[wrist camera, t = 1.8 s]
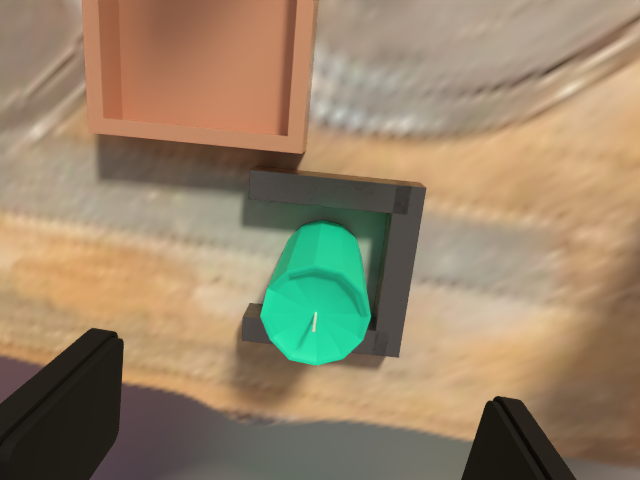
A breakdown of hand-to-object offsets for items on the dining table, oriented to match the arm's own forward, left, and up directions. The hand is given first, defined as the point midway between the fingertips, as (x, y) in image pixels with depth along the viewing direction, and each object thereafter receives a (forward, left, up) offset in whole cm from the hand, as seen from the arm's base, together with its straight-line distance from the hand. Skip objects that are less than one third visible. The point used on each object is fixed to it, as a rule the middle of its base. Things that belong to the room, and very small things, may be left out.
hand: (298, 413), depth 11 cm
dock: (0, +3, -22) cm, 22 cm away
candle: (0, +3, -22) cm, 23 cm away
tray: (+9, -12, -22) cm, 27 cm away
